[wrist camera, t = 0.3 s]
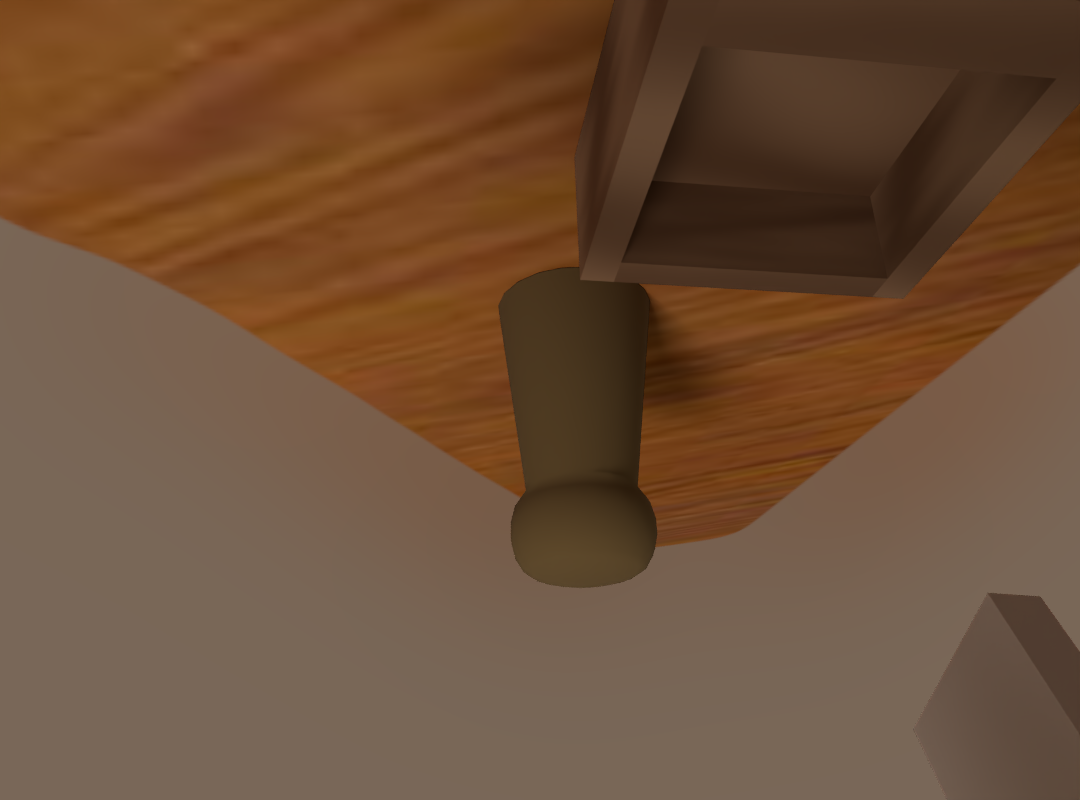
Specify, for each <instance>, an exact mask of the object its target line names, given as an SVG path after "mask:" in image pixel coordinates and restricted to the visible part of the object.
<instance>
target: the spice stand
mask: <svg viewBox="0 0 1080 800" xmlns="http://www.w3.org/2000/svg"><path fill="white" fill-rule="evenodd" d="M1079 103H1080V0H614V4H613V8H612V12H611V16H610V20H609V24H608V28H607V32H606V36H605V40H604V44H603V47H602V51H601V55H600V59H599V63H598V67H597V71H596V75H595V79H594V83H593V87H592V91H591V95H590V99H589V103H588V107H587V111H586V115H585V119H584V123H583V127H582V131H581V135H580V139H579V142H578V146H577V150H576V154H575V178H576V200H577V222H578V244H579V266H580V280H590V281H607V282H625V283H642V284H659V285H676V286H694V287H711V288H728V289H745V290H763V291H780V292H797V293H814V294H832V295H849V296H866V297H883V298H901V299H904V297H905V296H906V295H907V294H908V293H909V292H910V291H911V290H912V289H913V287H914V286H915V285H916V284H917V283H918V282H919V281H920V280H921V279H922V277H923V276H924V275H925V274H926V273H927V272H928V271H929V270H930V269H931V267H932V266H933V265H934V264H935V263H936V262H937V261H938V260H939V259H940V258H941V256H942V255H943V254H944V253H945V252H946V251H947V250H948V249H949V248H950V246H951V245H952V244H953V243H954V242H955V241H956V240H957V239H958V238H959V236H960V235H961V234H962V233H963V232H964V231H965V230H966V229H967V228H968V226H969V225H970V224H971V223H972V222H973V221H974V220H975V219H976V218H977V217H978V215H979V214H980V213H981V212H982V211H983V210H984V209H985V208H986V207H987V205H988V204H989V203H990V202H991V201H992V200H993V199H994V198H995V197H996V195H997V194H998V193H999V192H1000V191H1001V190H1002V189H1003V188H1004V187H1005V185H1006V184H1007V183H1008V182H1009V181H1010V180H1011V179H1012V178H1013V177H1014V175H1015V174H1016V173H1017V172H1018V171H1019V170H1020V169H1021V168H1022V167H1023V166H1024V164H1025V163H1026V162H1027V161H1028V160H1029V159H1030V158H1031V157H1032V156H1033V154H1034V153H1035V152H1036V151H1037V150H1038V149H1039V148H1040V147H1041V146H1042V144H1043V143H1044V142H1045V141H1046V140H1047V139H1048V138H1049V137H1050V136H1051V134H1052V133H1053V132H1054V131H1055V130H1056V129H1057V128H1058V127H1059V126H1060V125H1061V123H1062V122H1063V121H1064V120H1065V119H1066V118H1067V117H1068V116H1069V115H1070V113H1071V112H1072V111H1073V110H1074V109H1075V108H1076V107H1077V106H1078V105H1079Z"/></svg>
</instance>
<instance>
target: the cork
mask: <svg viewBox="0 0 1080 800" xmlns="http://www.w3.org/2000/svg"><path fill="white" fill-rule="evenodd" d="M498 306H499V314H500V322H501V328H502V335H503V342H504V348H505V355H506V361H507V368H508V375H509V381H510V388H511V394H512V401H513V408H514V414H515V421H516V427H517V434H518V441H519V447H520V454H521V460H522V467H523V474H524V480H525V487H526V491H525V493H524V494H523V496H522V497H521V498H520V500H519V501H518V503H517V504H516V505H515V508H514V512H513V516H512V520H511V542H512V547H513V551H514V555H515V559H516V561H517V562H518V564H519V565H520V567H521V569H522V570H523V572H524V573H526V574H527V575H528V576H530V577H532V578H533V579H535V580H537V581H539V582H542V583H545V584H549V585H555V586H561V587H576V588H586V587H599V586H606V585H611V584H616V583H621V582H624V581H626V580H629V579H632V578H633V577H635V576H636V575H638V574H639V573H641V572H642V571H643V570H645V569H646V568H647V566H648V564H649V562H650V560H651V558H652V556H653V553H654V550H655V544H656V539H657V526H656V517H655V515H654V512H653V509H652V506H651V503H650V501H649V500H648V499H647V497H646V496H645V495H644V494H643V492H642V491H641V490H640V489H639V488H638V472H639V457H640V442H641V427H642V412H643V397H644V382H645V367H646V352H647V337H648V322H649V307H650V300H649V298H648V296H647V294H646V292H645V290H644V288H642V287H641V286H640V285H639V284H637V283H625V282H607V281H590V280H580V267H578V268H560V269H555V270H550V271H545V272H541V273H537V274H535V275H532V276H530V277H528V278H526V279H523V280H521V281H519V282H517V283H516V284H515V285H514V286H512V287H511V288H510V289H509V290H508V291H506V292H505V293H504V295H503V297H502V299H501V301H500V303H499V305H498Z"/></svg>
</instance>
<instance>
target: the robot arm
mask: <svg viewBox="0 0 1080 800" xmlns="http://www.w3.org/2000/svg"><path fill="white" fill-rule="evenodd" d="M913 730H914V732H915V734H916V736H917V738H918V740H919V742H920V744H921V747H922V749H923V751H924V753H925V755H926V757H927V759H928V761H929V763H930V766H931V768H932V770H933V772H934V774H935V776H936V778H937V780H938V782H939V784H940V787H941V789H942V791H943V793H944V795H945V797H946V799H947V800H1080V651H1079V650H1078V649H1077V647H1076V646H1075V644H1074V643H1073V642H1072V640H1071V639H1070V637H1069V636H1068V635H1067V633H1066V632H1065V630H1064V629H1063V628H1062V626H1061V625H1060V623H1059V622H1058V621H1057V619H1056V618H1055V616H1054V615H1053V614H1052V612H1051V611H1050V609H1049V608H1048V606H1047V605H1046V604H1045V602H1044V601H1043V600H1042V598H1041V597H1039V596H1025V595H1011V594H997V593H987V595H986V597H985V598H984V600H983V602H982V604H981V606H980V608H979V610H978V611H977V613H976V615H975V617H974V619H973V621H972V622H971V624H970V626H969V628H968V630H967V632H966V633H965V635H964V637H963V639H962V641H961V642H960V644H959V646H958V648H957V650H956V652H955V653H954V655H953V657H952V659H951V661H950V663H949V664H948V666H947V668H946V670H945V672H944V674H943V675H942V677H941V679H940V681H939V683H938V685H937V686H936V688H935V690H934V692H933V694H932V696H931V697H930V699H929V701H928V703H927V705H926V707H925V708H924V711H923V712H922V714H921V716H920V718H919V719H918V721H917V723H916V725H915V727H914V729H913Z"/></svg>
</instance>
